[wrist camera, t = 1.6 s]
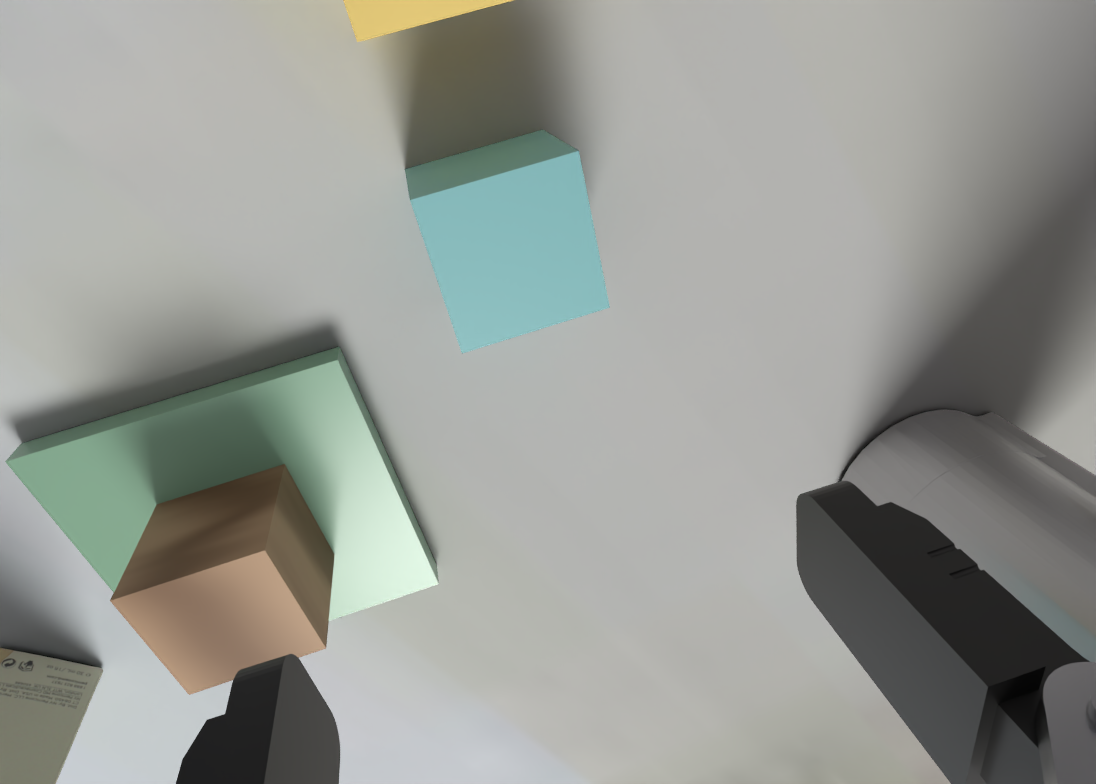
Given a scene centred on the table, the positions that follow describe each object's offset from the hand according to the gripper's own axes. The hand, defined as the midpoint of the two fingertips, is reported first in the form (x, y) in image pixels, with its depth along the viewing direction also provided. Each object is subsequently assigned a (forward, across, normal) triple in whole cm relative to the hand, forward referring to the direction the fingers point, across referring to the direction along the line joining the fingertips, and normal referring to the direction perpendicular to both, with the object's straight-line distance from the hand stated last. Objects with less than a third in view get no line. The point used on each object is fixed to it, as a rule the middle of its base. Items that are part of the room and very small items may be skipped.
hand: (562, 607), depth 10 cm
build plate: (+17, +11, +8) cm, 21 cm away
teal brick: (+17, -2, -2) cm, 17 cm away
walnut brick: (+16, +11, +8) cm, 21 cm away
